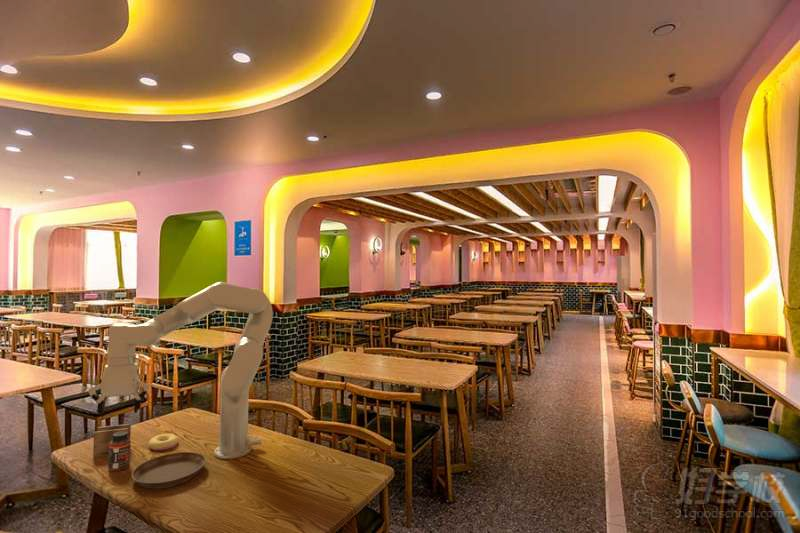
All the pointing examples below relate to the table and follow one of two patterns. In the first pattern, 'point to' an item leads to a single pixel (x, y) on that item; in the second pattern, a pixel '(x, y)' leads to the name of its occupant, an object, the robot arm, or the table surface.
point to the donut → (163, 442)
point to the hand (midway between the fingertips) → (119, 412)
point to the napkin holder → (107, 438)
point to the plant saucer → (168, 470)
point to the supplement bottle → (119, 452)
